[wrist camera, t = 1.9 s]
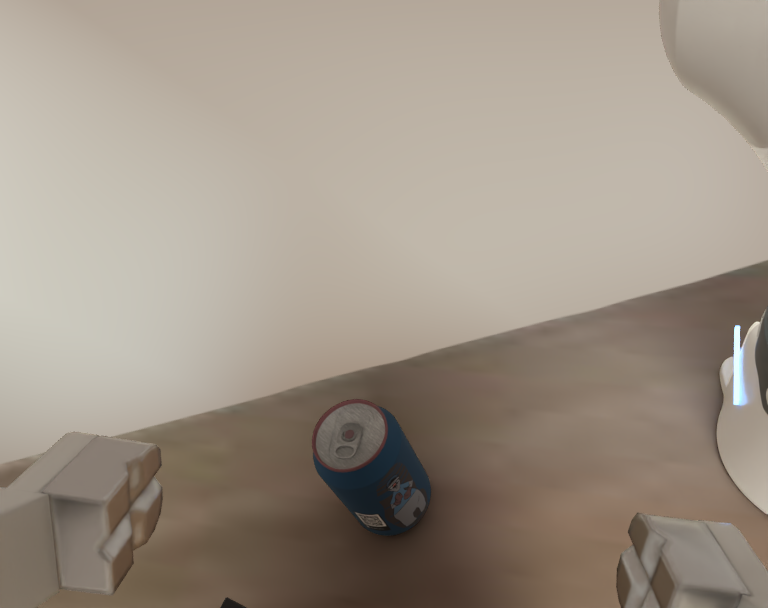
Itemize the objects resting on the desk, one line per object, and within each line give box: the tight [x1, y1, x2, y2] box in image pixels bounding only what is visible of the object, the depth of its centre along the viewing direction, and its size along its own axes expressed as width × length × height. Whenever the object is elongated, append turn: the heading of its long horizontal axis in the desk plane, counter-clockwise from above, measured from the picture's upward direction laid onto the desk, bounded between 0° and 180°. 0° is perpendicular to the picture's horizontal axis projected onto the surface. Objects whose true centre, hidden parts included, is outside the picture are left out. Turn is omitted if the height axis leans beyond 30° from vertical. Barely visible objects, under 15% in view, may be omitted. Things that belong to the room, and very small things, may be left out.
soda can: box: [312, 399, 431, 536], centre depth 47 cm, size 7×7×12 cm
